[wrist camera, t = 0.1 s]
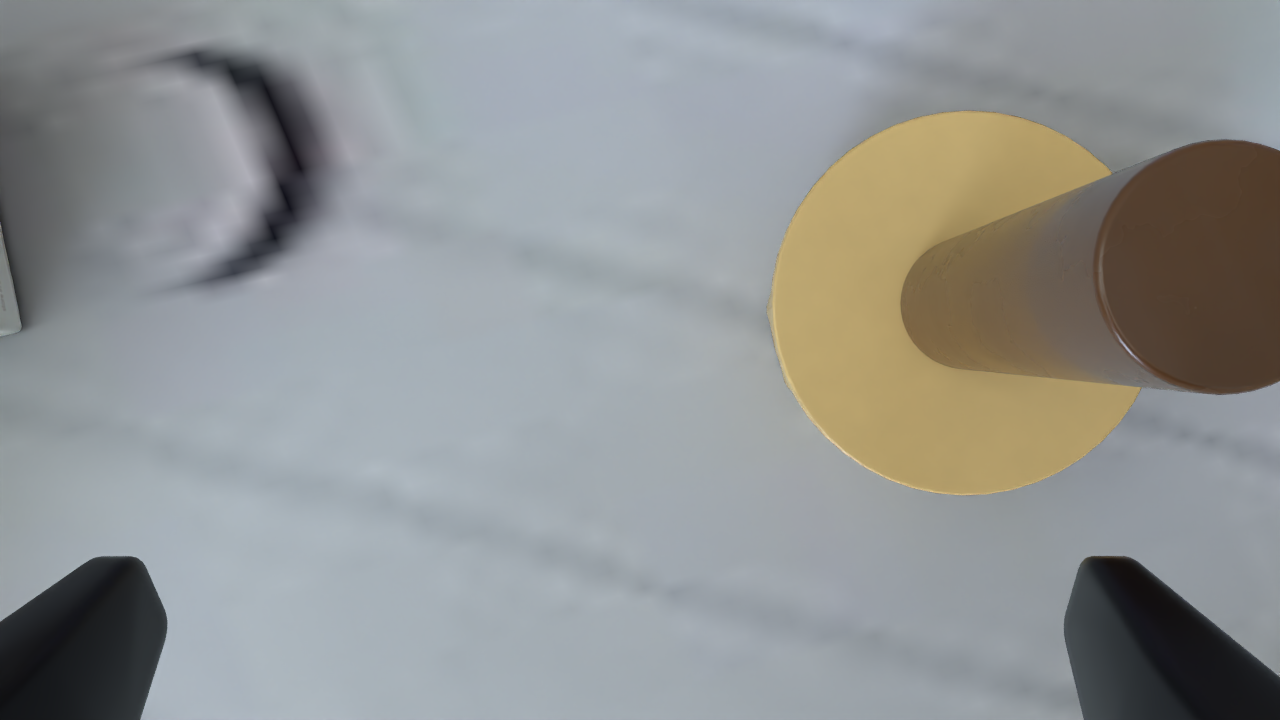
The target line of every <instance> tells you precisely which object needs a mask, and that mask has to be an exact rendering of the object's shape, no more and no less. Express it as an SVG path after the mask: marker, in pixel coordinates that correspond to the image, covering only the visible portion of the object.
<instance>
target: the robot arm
mask: <svg viewBox="0 0 1280 720" xmlns="http://www.w3.org/2000/svg"><path fill="white" fill-rule="evenodd" d="M166 634H167V616H166V612H165V609H164V607H163V605H162V603H161V600H160V598H159V596H158V593H157V591H156V589H155V587H154V584H153V582H152V580H151V578H150V575H149V573H148V571H147V569H146V567H145V565H144V563H143V562H142V561H140V560H139V559H138V558H135V557H132V556H101V557H96V558H93V559H91V560H89V561H88V562H86V563H84V564H83V565H81V566H80V567H78V568H77V569H76V570H74V571H73V572H71V573H70V574H68V575H67V576H66V577H64V578H63V579H61V580H60V581H58V582H57V583H55V584H54V585H53V586H51V587H50V588H48V589H47V590H45V591H44V592H42V593H41V594H40V595H38V596H37V597H35V598H34V599H32V600H31V601H30V602H28V603H27V604H25V605H24V606H22V607H21V608H19V609H18V610H17V611H15V612H14V613H12V614H11V615H9V616H8V617H6V618H5V619H4V620H2V621H1V622H0V720H140V718H141V715H142V712H143V709H144V706H145V703H146V699H147V696H148V693H149V690H150V687H151V683H152V680H153V677H154V674H155V671H156V668H157V664H158V661H159V658H160V655H161V652H162V649H163V645H164V642H165V638H166ZM1064 636H1065V642H1066V647H1067V651H1068V655H1069V659H1070V663H1071V668H1072V672H1073V676H1074V680H1075V684H1076V688H1077V693H1078V697H1079V701H1080V705H1081V709H1082V714H1083V718H1084V720H1280V677H1279V676H1278V675H1276V674H1275V673H1274V672H1273V671H1272V670H1270V669H1269V668H1268V667H1267V666H1265V665H1264V664H1263V663H1262V662H1261V661H1259V660H1258V659H1257V658H1256V657H1254V656H1253V655H1252V654H1251V653H1249V652H1248V651H1247V650H1246V649H1245V648H1243V647H1242V646H1241V645H1240V644H1238V643H1237V642H1236V641H1235V640H1233V639H1232V638H1231V637H1230V636H1229V635H1227V634H1226V633H1225V632H1224V631H1222V630H1221V629H1220V628H1219V627H1217V626H1216V625H1215V624H1214V623H1213V622H1211V621H1210V620H1209V619H1208V618H1206V617H1205V616H1204V615H1203V614H1202V613H1200V612H1199V611H1198V610H1197V609H1195V608H1194V607H1193V606H1192V605H1190V604H1189V603H1188V602H1187V601H1186V600H1184V599H1183V598H1182V597H1181V596H1179V595H1178V594H1177V593H1176V592H1174V591H1173V590H1172V589H1171V588H1170V587H1168V586H1167V585H1166V584H1165V583H1163V582H1162V581H1161V580H1160V579H1158V578H1157V577H1156V576H1155V575H1154V574H1152V573H1151V572H1150V571H1149V570H1147V569H1146V568H1145V567H1144V566H1143V565H1141V564H1140V563H1139V562H1137V561H1136V560H1134V559H1132V558H1129V557H1125V556H1091V557H1088V558H1086V559H1084V560H1083V561H1082V563H1081V564H1080V567H1079V569H1078V572H1077V576H1076V579H1075V583H1074V586H1073V589H1072V593H1071V596H1070V600H1069V603H1068V607H1067V610H1066V614H1065V618H1064Z"/></svg>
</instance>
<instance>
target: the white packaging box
mask: <svg viewBox="0 0 1280 720" xmlns="http://www.w3.org/2000/svg"><path fill="white" fill-rule="evenodd" d="M21 326H22V325H21V321H20V315H19V309H18V305H17V300H16V296H15V290H14V284H13V280H12V276H11V272H10V266H9V262H8V258H7V253H6V248H5V244H4V239H3V233H2V228H1V224H0V337H1V336H5V335H10V334H15V333H18V332H19V331H20V330H21Z"/></svg>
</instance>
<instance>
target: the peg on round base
mask: <svg viewBox="0 0 1280 720" xmlns="http://www.w3.org/2000/svg"><path fill="white" fill-rule="evenodd" d="M771 320H772V330H773V336H774V341H775V347H776V352H777V355H778V358H779V361H780V364H781V367H782V370H783V373H784V376H785V378H786V380H787V382H788V384H789V386H790V388H791V390H792V392H793V394H794V396H795V398H796V399H797V401H798V402H799V404H800V406H801V407H802V409H803V410H804V412H805V413H806V415H807V416H808V418H809V419H810V420H811V421H812V422H813V423H814V425H815V426H816V427H817V428H818V429H819V430H820V431H821V433H822V434H823V435H824V436H825V437H826V438H827V439H828V440H830V441H831V442H832V443H833V444H834V445H835V446H836V447H837V448H838V449H840V450H841V451H842V452H843V453H844V454H846V455H847V456H849V457H850V458H852V459H853V460H855V461H856V462H858V463H859V464H861V465H862V466H863V467H865V468H867V469H869V470H871V471H873V472H874V473H876V474H878V475H880V476H882V477H884V478H886V479H888V480H891V481H894V482H897V483H900V484H902V485H905V486H908V487H911V488H915V489H919V490H924V491H929V492H933V493H940V494H952V495H981V494H992V493H997V492H1003V491H1009V490H1014V489H1017V488H1020V487H1023V486H1026V485H1030V484H1033V483H1036V482H1039V481H1041V480H1043V479H1045V478H1047V477H1049V476H1052V475H1054V474H1056V473H1058V472H1060V471H1062V470H1064V469H1065V468H1067V467H1068V466H1070V465H1071V464H1073V463H1075V462H1076V461H1078V460H1079V459H1081V458H1082V457H1084V456H1085V455H1086V454H1087V453H1089V452H1090V451H1091V450H1092V449H1093V448H1095V447H1096V446H1097V445H1098V444H1099V443H1101V442H1102V441H1103V440H1104V439H1105V438H1106V437H1107V435H1108V434H1109V433H1110V432H1111V431H1112V430H1113V429H1114V428H1115V427H1116V426H1117V425H1118V424H1119V422H1120V421H1121V420H1122V418H1123V417H1124V415H1125V414H1126V413H1127V411H1128V410H1129V408H1130V407H1131V406H1132V404H1133V403H1134V401H1135V399H1136V397H1137V396H1138V394H1139V392H1140V390H1141V388H1142V387H1143V388H1153V389H1163V390H1173V391H1183V392H1193V393H1203V394H1216V395H1226V394H1239V393H1245V392H1250V391H1255V390H1258V389H1261V388H1265V387H1268V386H1271V385H1273V384H1275V383H1277V382H1279V381H1280V151H1279V150H1277V149H1274V148H1271V147H1268V146H1265V145H1262V144H1259V143H1254V142H1248V141H1243V140H1229V139H1221V140H1207V141H1202V142H1197V143H1192V144H1188V145H1185V146H1182V147H1179V148H1176V149H1174V150H1171V151H1169V152H1166V153H1164V154H1161V155H1159V156H1156V157H1154V158H1151V159H1149V160H1146V161H1144V162H1141V163H1139V164H1136V165H1134V166H1131V167H1129V168H1126V169H1124V170H1121V171H1119V172H1116V173H1114V174H1112V172H1111V171H1110V170H1109V169H1108V168H1107V167H1106V166H1105V165H1104V164H1103V163H1102V162H1100V161H1099V160H1098V159H1097V158H1096V157H1095V156H1094V155H1092V154H1091V153H1090V152H1089V151H1088V150H1086V149H1085V148H1083V147H1082V146H1080V145H1079V144H1077V143H1076V142H1074V141H1073V140H1071V139H1070V138H1068V137H1067V136H1065V135H1063V134H1061V133H1059V132H1057V131H1055V130H1052V129H1050V128H1048V127H1046V126H1044V125H1042V124H1039V123H1036V122H1033V121H1030V120H1027V119H1024V118H1021V117H1017V116H1011V115H1006V114H1001V113H996V112H984V111H954V112H942V113H937V114H931V115H926V116H921V117H917V118H914V119H911V120H908V121H905V122H902V123H899V124H896V125H893V126H891V127H889V128H887V129H885V130H883V131H881V132H879V133H877V134H875V135H873V136H871V137H869V138H868V139H866V140H865V141H863V142H862V143H860V144H859V145H857V146H856V147H854V148H852V149H851V150H849V151H848V152H847V153H846V154H845V155H844V156H842V157H841V158H840V159H839V160H838V161H837V162H835V163H834V164H833V165H832V166H831V167H830V168H829V169H828V170H827V171H826V172H825V173H824V175H823V176H822V177H821V178H820V179H819V180H818V181H817V182H816V183H815V185H814V186H813V187H812V188H811V190H810V191H809V193H808V194H807V195H806V197H805V198H804V200H803V201H802V203H801V204H800V206H799V207H798V209H797V210H796V212H795V214H794V216H793V218H792V220H791V222H790V224H789V226H788V228H787V230H786V232H785V235H784V238H783V241H782V243H781V246H780V249H779V252H778V255H777V260H776V264H775V269H774V274H773V279H772V291H771Z"/></svg>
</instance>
